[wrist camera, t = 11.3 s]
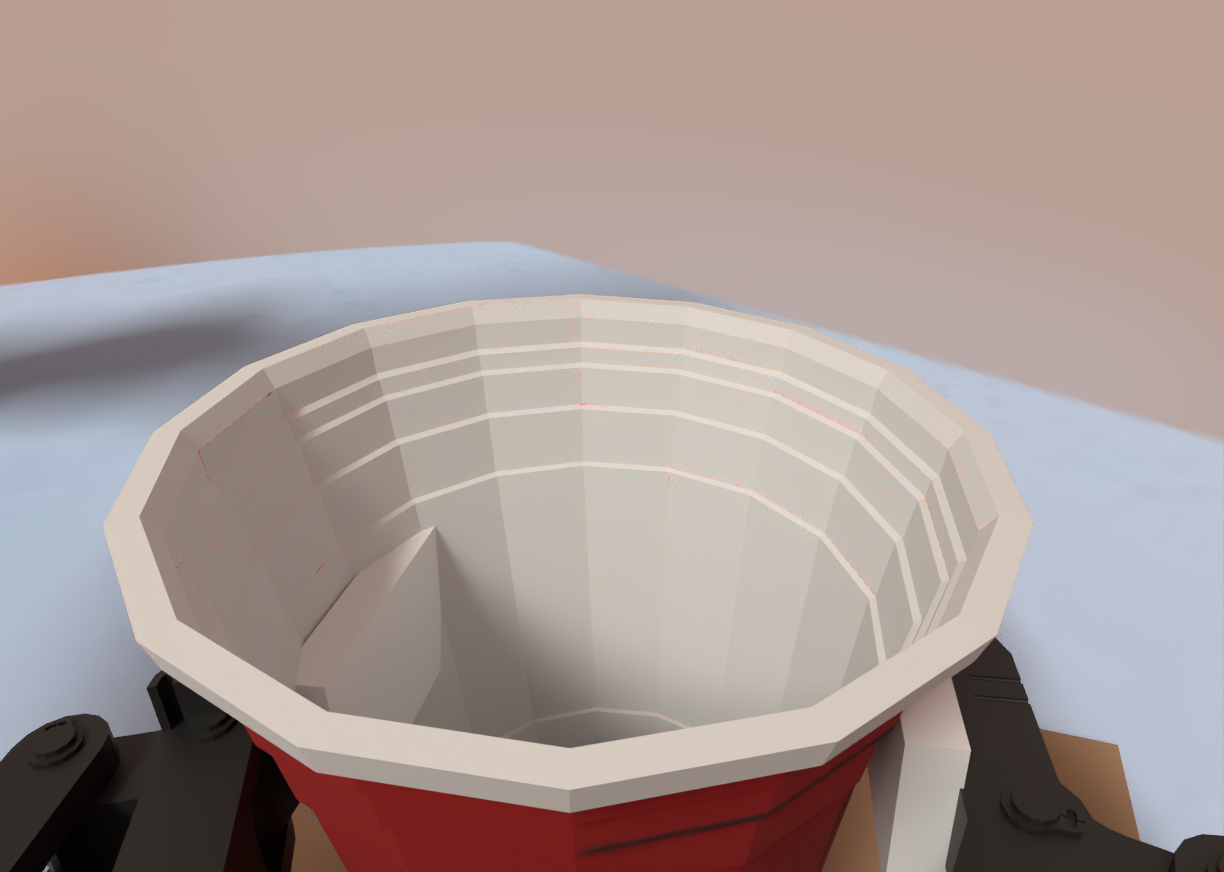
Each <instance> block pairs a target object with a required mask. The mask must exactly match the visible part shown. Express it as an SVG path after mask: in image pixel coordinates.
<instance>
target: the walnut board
mask: <svg viewBox="0 0 1224 872" xmlns="http://www.w3.org/2000/svg"><path fill="white" fill-rule="evenodd" d="M1040 732H1041V734H1042V737H1043V740H1044V742H1045V745H1046V748H1047V750H1048V753H1049V756H1050V758H1051V761H1052V764H1053V766H1054V769H1055V772H1056V774H1057V777H1058V779H1059V781H1060V783H1061V784H1062V785H1064V786H1065V787H1066V788H1067V789H1068V790H1070V791H1071V792H1072V793H1073V794H1074V795H1075V796H1077V797H1078V798H1079V799H1080V800H1081V801H1082V802H1083V804H1084V806H1085V807H1086V809H1087V810H1088V812H1089V813H1090V815H1091V816H1092V818H1093V819H1094V820H1096V821H1097V822H1099V823H1101V824H1102V825H1104V826H1105V827H1107V828H1109V829H1111V830H1113V831H1116V832H1118V833H1120V834H1123V835H1125V836H1127V837H1130V838H1133V839H1135V840H1138V841H1140V839H1139V835H1138V830H1137V826H1136V822H1135V817H1134V813H1133V809H1132V804H1131V800H1130V796H1129V791H1128V787H1127V783H1126V779H1125V774H1124V770H1123V766H1122V761H1121V757H1120V753H1119V748H1118V745H1115V744H1110V743H1105V742H1100V741H1096V740H1091V739H1086V738H1081V737H1076V736H1071V735H1066V734H1061V733H1057V732H1052V731H1047V730H1042V729H1040ZM291 817H292V820H293V824H294V828H295V837H296V840H295V847H294V854H293V861H292V868H291V872H347V870H346V868H345V866H344V864H343V863H342V861H341V859H340V857H339V856H338V854H337V852H336V850H335V849H334V847H333V845H332V843H331V842H330V840H329V838H328V836H327V835H326V833H325V831H324V829H323V828H322V826H321V824H320V822H319V821H315V820H313V819H312V816H311V812H310V809H309V807H307V806H306V805H304V804H303V803H301V802H300V803H299V805H298V806H297V808H296V809H295V811H294V813H293V814H292V816H291ZM822 872H881V871H880V863H879V855H878V847H877V839H876V831H875V823H874V815H873V807H872V799H871V790H870V782H869V774H868V766H867V767H866V769H865V771H864V773H863V775H862V777H861V780H860V782H858V783H857V784H856V785H855V787H854V790H853V792H852V795H851V798H850V800H849V803H848V805H847V808H846V810H845V813H844V816H843V818H842V821H841V823H840V826H839V828H838V831H837V833H836V836H835V839H834V841H833V844H832V846H831V849H830V851H829V854H828V856H827V859H826V862H825V864H824V867H823V869H822Z"/></svg>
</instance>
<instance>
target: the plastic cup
mask: <svg viewBox="0 0 1224 872" xmlns="http://www.w3.org/2000/svg"><path fill="white" fill-rule="evenodd" d="M1033 524H1034V523H1033V521H1032V519H1031V517H1030V515H1029V513H1028V511H1027V508H1026V506H1025V504H1024V502H1023V500H1022V498H1021V496H1020V494H1019V492H1018V490H1017V487H1016V485H1015V483H1014V481H1013V479H1012V477H1011V475H1010V473H1009V471H1008V468H1007V466H1006V464H1005V462H1004V460H1003V458H1002V456H1001V454H1000V452H999V450H998V447H997V445H996V443H995V441H994V439H993V437H992V435H991V433H990V432H989V431H987V430H986V429H985V428H984V427H982V426H981V425H980V424H978V423H977V422H976V421H974V420H973V419H972V418H971V417H969V416H968V415H967V414H965V413H964V412H963V411H961V410H960V409H959V408H958V407H956V406H955V405H954V404H952V403H951V402H950V401H949V400H947V399H946V398H945V397H943V396H942V395H941V394H939V393H938V392H937V391H936V390H934V389H933V388H932V387H930V386H929V385H928V384H926V383H925V382H924V381H923V380H921V379H920V378H919V377H917V376H916V375H915V374H914V373H912V372H911V371H910V370H908V369H907V368H905V367H903V366H900V365H898V364H895V363H893V362H890V361H888V360H886V359H883V358H881V357H878V356H876V355H873V354H871V353H869V352H866V351H864V350H861V349H859V348H857V347H854V346H852V345H849V344H847V343H844V342H842V341H840V340H837V339H835V338H832V337H830V336H827V335H825V334H823V333H820V332H818V331H815V330H813V329H811V328H808V327H806V326H802V325H798V324H793V323H788V322H784V321H779V320H775V319H770V318H765V317H761V316H756V315H752V314H747V313H742V312H738V311H733V310H728V309H724V308H719V307H715V306H710V305H705V304H701V303H696V302H686V301H672V300H658V299H644V298H630V297H616V296H602V295H588V294H573V295H556V296H540V297H523V298H507V299H490V300H474V301H464V302H459V303H454V304H449V305H444V306H439V307H434V308H429V309H424V310H419V311H414V312H410V313H405V314H400V315H395V316H390V317H385V318H380V319H375V320H370V321H365V322H360V323H355V324H352V325H349V326H346V327H344V328H341V329H339V330H336V331H334V332H331V333H328V334H326V335H323V336H321V337H318V338H316V339H313V340H311V341H308V342H305V343H303V344H300V345H298V346H295V347H293V348H290V349H288V350H285V351H282V352H280V353H277V354H275V355H272V356H270V357H267V358H264V359H262V360H259V361H257V362H254V363H252V364H249V365H247V366H244V367H243V368H241V369H240V370H239V371H237V372H236V373H234V374H233V375H232V376H230V377H229V378H228V379H226V380H225V381H223V382H222V383H221V384H219V385H218V386H216V387H215V388H214V389H212V390H211V391H210V392H208V393H207V394H205V395H204V396H203V397H201V398H200V399H198V400H197V401H196V402H194V403H193V404H192V405H190V406H189V407H187V408H186V409H185V410H183V411H182V412H180V413H179V414H178V415H176V416H175V417H174V418H172V419H171V420H169V421H168V422H167V423H165V424H164V425H162V426H161V427H160V428H158V429H157V430H156V431H154V432H153V433H152V435H151V437H150V439H149V440H148V442H147V444H146V446H145V448H144V450H143V452H142V453H141V455H140V457H139V459H138V461H137V463H136V465H135V466H134V468H133V470H132V472H131V474H130V476H129V478H128V479H127V481H126V483H125V485H124V487H123V489H122V491H121V492H120V494H119V496H118V498H117V500H116V502H115V504H114V505H113V507H112V509H111V511H110V513H109V515H108V517H107V518H106V520H105V522H104V524H103V530H104V533H105V536H106V540H107V543H108V547H109V550H110V554H111V557H112V560H113V564H114V567H115V571H116V574H117V577H118V581H119V584H120V588H121V591H122V595H123V598H124V601H125V605H126V608H127V612H128V615H129V618H130V622H131V625H132V629H133V632H134V636H135V639H136V641H137V642H138V644H139V645H140V646H141V647H142V648H143V649H144V650H145V651H146V653H147V654H148V655H149V656H150V657H151V658H152V659H153V660H154V662H155V663H156V664H157V665H158V666H159V667H160V668H161V669H162V670H163V671H164V672H166V673H167V674H169V675H170V676H172V677H173V678H175V679H176V680H178V681H179V682H181V683H182V684H184V685H185V686H187V687H188V688H190V689H191V690H193V691H194V692H196V693H197V694H199V695H200V696H202V697H203V698H205V699H206V700H208V701H209V702H211V703H212V704H214V705H215V706H217V707H218V708H220V709H221V710H223V711H224V712H226V713H227V714H229V715H230V716H232V717H233V718H235V719H236V720H238V721H239V722H241V723H242V724H243V725H244V726H245V728H246V730H247V732H248V733H249V735H250V737H251V739H252V740H253V742H254V744H255V745H256V746H257V747H259V748H260V749H262V750H263V751H265V752H267V753H268V754H270V755H271V756H273V758H274V760H275V762H276V764H277V765H278V767H279V769H280V771H281V772H282V774H283V776H284V778H285V780H286V781H287V783H288V785H289V787H290V788H291V790H292V792H293V794H294V796H295V797H296V799H297V800H298V801H300V802H301V803H303V804H304V805H306V806H307V807H309V808H310V809H312V810H313V812H314V813H315V815H316V817H317V819H318V820H319V822H320V824H321V826H322V828H323V829H324V831H325V833H326V835H327V836H328V838H329V840H330V842H331V843H332V845H333V847H334V849H335V850H336V852H337V854H338V856H339V857H340V859H341V861H342V863H343V864H344V866H345V868H346V870H347V872H822V869H823V867H824V864H825V862H826V859H827V856H828V854H829V851H830V849H831V846H832V844H833V841H834V839H835V836H836V833H837V831H838V828H839V826H840V823H841V821H842V818H843V816H844V813H845V810H846V808H847V805H848V803H849V800H850V798H851V795H852V792H853V790H854V787H855V785H856V784H857V783H858V782H860V780H861V777H862V775H863V773H864V771H865V769H866V767H867V764H868V762H869V760H870V758H871V756H872V754H873V752H874V749H875V747H876V745H877V743H878V741H879V740H880V739H882V738H883V737H885V736H886V735H887V734H889V733H890V732H892V731H893V730H894V728H895V726H896V724H897V722H898V720H899V718H900V716H901V714H902V712H903V710H904V709H905V708H907V707H908V706H910V705H911V704H913V703H914V702H916V701H917V700H919V699H920V698H922V697H923V696H924V695H926V694H927V693H929V692H930V691H932V690H933V689H935V688H936V687H938V686H939V685H941V684H942V683H944V682H945V681H946V680H948V679H949V678H951V677H952V676H954V675H955V674H957V673H958V672H960V671H961V670H963V669H964V668H966V667H967V666H968V665H970V664H971V663H973V662H974V661H975V660H976V659H977V658H978V657H979V655H980V654H981V653H982V652H983V651H984V650H985V648H986V647H987V646H988V645H989V644H990V643H991V641H992V640H993V639H994V638H995V637H996V636H997V633H998V630H999V627H1000V624H1001V621H1002V618H1003V615H1004V612H1005V609H1006V606H1007V603H1008V600H1009V597H1010V594H1011V591H1012V588H1013V585H1014V582H1015V579H1016V576H1017V573H1018V570H1019V567H1020V564H1021V560H1022V557H1023V554H1024V551H1025V548H1026V545H1027V542H1028V539H1029V536H1030V533H1031V530H1032V527H1033ZM433 526H435V528H436V544H437V559H438V574H439V589H440V604H441V670H440V672H439V674H438V676H437V678H436V679H435V681H434V683H433V685H432V687H431V689H430V691H429V693H428V695H427V697H426V699H425V700H424V702H423V704H422V706H421V708H420V710H419V712H418V714H417V716H416V718H415V720H414V721H413V723H412V724H406V723H400V722H393V721H387V720H380V719H373V718H367V717H360V716H354V715H347V714H340V713H334V712H327V711H326V710H324V709H322V708H321V707H319V706H317V705H316V704H314V703H313V702H311V701H309V700H308V699H306V698H304V697H303V696H301V695H300V694H299V693H298V691H297V689H296V687H295V680H296V675H297V669H298V664H299V658H300V653H301V647H302V646H303V644H304V643H305V642H306V640H307V639H308V638H309V637H310V635H311V634H312V633H313V631H314V630H315V629H316V627H317V626H318V625H319V624H320V622H321V621H322V620H323V618H324V617H325V616H326V614H327V613H328V612H329V611H330V609H331V608H332V607H333V605H334V604H335V603H336V601H337V600H338V599H339V598H340V596H341V595H342V594H343V592H344V591H345V590H346V588H347V587H348V586H349V585H350V583H351V582H352V581H353V579H354V578H355V577H356V575H357V574H358V573H359V572H360V571H362V570H363V569H365V568H366V567H368V566H369V565H371V564H372V563H374V562H375V561H377V560H378V559H380V558H381V557H383V556H384V555H386V554H387V553H389V552H390V551H392V550H393V549H395V548H396V547H398V546H399V545H401V544H402V543H404V542H405V541H407V540H408V539H410V538H411V537H413V536H414V535H416V534H417V533H419V532H420V531H422V530H425V529H428V528H431V527H433Z"/></svg>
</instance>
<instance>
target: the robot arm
mask: <svg viewBox="0 0 1224 872" xmlns="http://www.w3.org/2000/svg"><path fill="white" fill-rule="evenodd" d="M440 670H441V604H440V589H439V574H438V559H437V544H436V528H435V526H433V527H431V528H428V529H425V530H422V531H420V532H419V533H417V534H416V535H414V536H413V537H411V538H410V539H408V540H407V541H405V542H404V543H402V544H401V545H399V546H398V547H396V548H395V549H393V550H392V551H390V552H389V553H387V554H386V555H384V556H383V557H381V558H380V559H378V560H377V561H375V562H374V563H372V564H371V565H369V566H368V567H366V568H365V569H363V570H362V571H360V572H359V573H358V574H357V575H356V577H355V578H354V579H353V581H352V582H351V583H350V585H349V586H348V587H347V588H346V590H345V591H344V592H343V594H342V595H341V596H340V598H339V599H338V600H337V601H336V603H335V604H334V605H333V607H332V608H331V609H330V611H329V612H328V613H327V614H326V616H325V617H324V618H323V620H322V621H321V622H320V624H319V625H318V626H317V627H316V629H315V630H314V631H313V633H312V634H311V635H310V637H309V638H308V639H307V640H306V642H305V643H304V644H303V646H302V647H301V653H300V658H299V664H298V669H297V675H296V680H295V687H296V689H297V691H298V693H299V694H300V695H301V696H303V697H304V698H306V699H308V700H309V701H311V702H313V703H314V704H316V705H317V706H319V707H321V708H322V709H324V710H326V711H327V712H334V713H340V714H347V715H354V716H360V717H367V718H373V719H380V720H387V721H393V722H400V723H406V724H412V723H413V721H414V720H415V718H416V716H417V714H418V712H419V710H420V708H421V706H422V704H423V702H424V700H425V699H426V697H427V695H428V693H429V691H430V689H431V687H432V685H433V683H434V681H435V679H436V678H437V676H438V674H439V672H440ZM1020 680H1021V679H1020V676H1019V673H1018V671H1017V668H1016V665H1015V663H1014V660H1013V657H1012V655H1011V653H1010V652H1009V651H1008V650H1007V649H1006V648H1005V647H1004V646H1003V645H1002V644H1001V643H1000V642H999V641H998V640H997V639H996V638H994V639H993V640H992V641H991V643H990V644H989V645H988V646H987V647H986V648H985V650H984V651H983V652H982V653H981V654H980V655H979V657H978V658H977V659H976V660H975V661H974V662H973V663H971V664H970V665H968V666H967V667H966V668H964V669H963V670H961V671H960V672H958V673H957V674H955V675H954V676H952V677H951V678H949V679H948V680H946V681H945V682H944V683H942V684H941V685H939V686H938V687H936V688H935V689H933V690H932V691H930V692H929V693H927V694H926V695H924V696H923V697H922V698H920V699H919V700H917V701H916V702H914V703H913V704H911V705H910V706H908V707H907V708H905V709H904V710H903V712H902V714H901V716H900V718H899V720H898V722H897V724H896V726H895V728H894V730H893V731H892V732H890V733H889V734H887V735H886V736H885V737H883V738H882V739H880V740H879V741H878V743H877V745H876V747H875V749H874V752H873V754H872V756H871V758H870V760H869V762H868V764H867V766H868V774H869V782H870V790H871V799H872V807H873V815H874V823H875V831H876V839H877V847H878V855H879V863H880V871H881V872H1224V836H1219V835H1206V834H1201V835H1198V836H1195V837H1192V838H1188V839H1185V840H1184V841H1183V842H1182V843H1181V845H1180V846H1179V847H1178V848H1177V850H1176V851H1175V853H1172V852H1169V851H1167V850H1164V849H1161V848H1158V847H1155V846H1152V845H1150V844H1147V843H1144V842H1141V841H1138V840H1135V839H1133V838H1130V837H1127V836H1125V835H1123V834H1120V833H1118V832H1116V831H1113V830H1111V829H1109V828H1107V827H1105V826H1104V825H1102V824H1101V823H1099V822H1097V821H1096V820H1094V819H1093V818H1092V816H1091V815H1090V813H1089V812H1088V810H1087V809H1086V807H1085V806H1084V804H1083V802H1082V801H1081V800H1080V799H1079V798H1078V797H1077V796H1075V795H1074V794H1073V793H1072V792H1071V791H1070V790H1068V789H1067V788H1066V787H1065V786H1064V785H1062V784H1061V783H1060V781H1059V779H1058V777H1057V774H1056V772H1055V769H1054V766H1053V764H1052V761H1051V758H1050V756H1049V753H1048V750H1047V748H1046V745H1045V742H1044V740H1043V737H1042V734H1041V732H1040V729H1039V726H1038V724H1037V721H1036V718H1035V716H1034V713H1033V711H1032V708H1031V705H1030V704H1028V697H1027V695H1026V692H1025V689H1024V687H1023V684H1021V682H1020ZM147 690H148V693H149V696H150V698H151V701H152V704H153V707H154V709H155V712H156V715H157V718H158V720H159V723H160V726H161V728H162V730H160V731H155V732H148V733H142V734H135V735H129V736H122V737H115V738H114V737H113V735H112V732H111V730H110V727H109V725H108V723H107V722H106V721H105V720H104V719H102V718H101V717H100V716H96V715H90V714H79V715H73V716H66V717H63V718H61V719H58V720H55V721H52V722H50V723H47V724H45V725H43V726H41V727H40V728H38V729H36V730H35V731H33V732H31V733H30V734H28V735H27V736H25V737H24V738H23V739H22V740H21V741H20V742H19V743H18V744H16V745H15V746H14V747H13V748H12V749H11V750H10V751H9V753H8V754H7V755H6V756H5V757H4V758H3V759H2V761H1V762H0V872H42V871H43V870H44V869H45V867H46V866H47V864H48V866H49V870H48V871H47V872H291V868H292V861H293V854H294V847H295V840H296V837H295V828H294V824H293V820H292V817H291V816H292V814H293V813H294V811H295V809H296V808H297V806H298V805H299V803H300V801H298V800H297V799H296V797H295V796H294V794H293V792H292V790H291V788H290V787H289V785H288V783H287V781H286V780H285V778H284V776H283V774H282V772H281V771H280V769H279V767H278V765H277V764H276V762H275V760H274V758H273V756H271V755H270V754H268V753H267V752H265V751H263V750H262V749H260V748H259V747H257V746H256V745H255V744H254V742H253V740H252V739H251V737H250V735H249V733H248V732H247V730H246V728H245V726H244V725H243V724H242V723H241V722H239V721H238V720H236V719H235V718H233V717H232V716H230V715H229V714H227V713H226V712H224V711H223V710H221V709H220V708H218V707H217V706H215V705H214V704H212V703H211V702H209V701H208V700H206V699H205V698H203V697H202V696H200V695H199V694H197V693H196V692H194V691H193V690H191V689H190V688H188V687H187V686H185V685H184V684H182V683H181V682H179V681H178V680H176V679H175V678H173V677H172V676H170V675H169V674H167V673H166V672H164V671H163V670H161V671H160V672H159V673H158V674H156V675H155V676H154V678H153V679H152V681H151V682H150V684H149V685H148V687H147ZM309 809H310V808H309ZM310 812H311V816H312V819H313V820H315V821H319V820H318V819H317V817H316V815H315V813H314V812H313V810H312V809H310Z"/></svg>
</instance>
